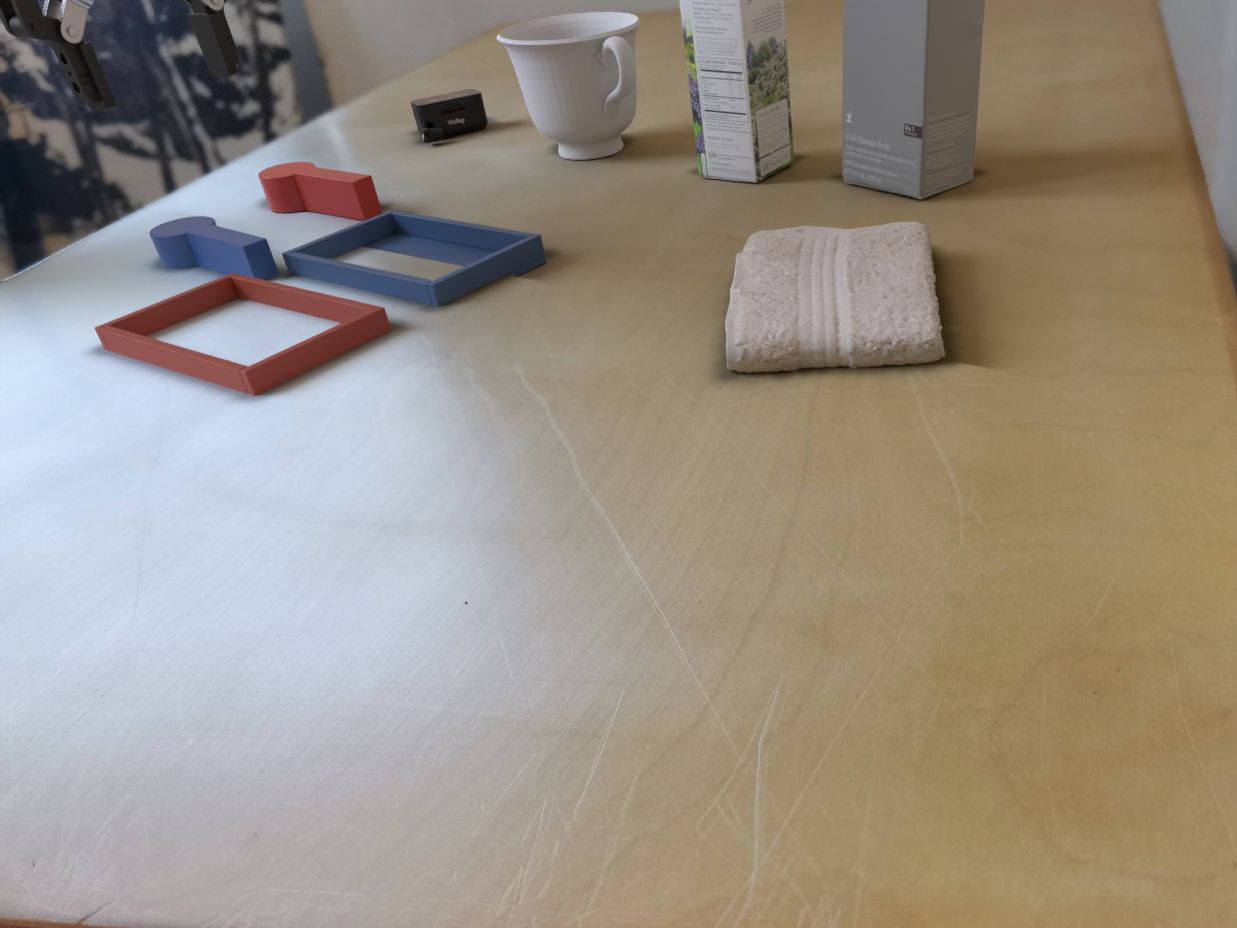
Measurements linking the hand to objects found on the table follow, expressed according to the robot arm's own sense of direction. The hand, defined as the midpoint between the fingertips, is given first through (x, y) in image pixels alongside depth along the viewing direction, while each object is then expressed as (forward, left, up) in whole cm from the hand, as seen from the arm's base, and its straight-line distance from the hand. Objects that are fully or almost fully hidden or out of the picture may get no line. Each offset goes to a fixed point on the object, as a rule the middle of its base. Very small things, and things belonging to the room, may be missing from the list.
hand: (166, 92), depth 72 cm
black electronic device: (-15, +33, -13) cm, 39 cm away
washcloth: (+42, +11, -13) cm, 46 cm away
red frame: (+11, -7, -12) cm, 18 cm away
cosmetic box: (+34, +35, -13) cm, 51 cm away
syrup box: (+20, +33, -13) cm, 41 cm away
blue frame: (+11, +6, -12) cm, 18 cm away
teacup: (+4, +33, -13) cm, 36 cm away
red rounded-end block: (-8, +13, -12) cm, 20 cm away
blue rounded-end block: (-3, +1, -12) cm, 13 cm away
